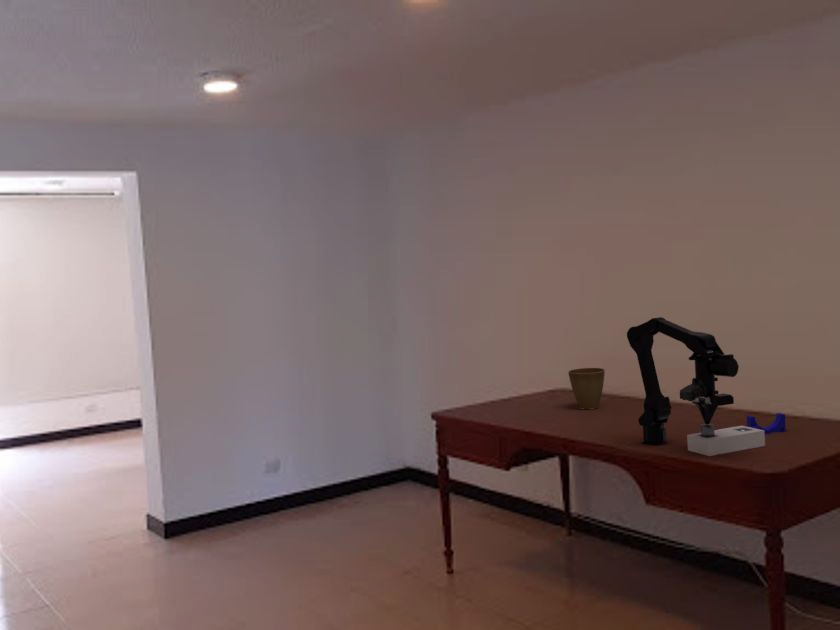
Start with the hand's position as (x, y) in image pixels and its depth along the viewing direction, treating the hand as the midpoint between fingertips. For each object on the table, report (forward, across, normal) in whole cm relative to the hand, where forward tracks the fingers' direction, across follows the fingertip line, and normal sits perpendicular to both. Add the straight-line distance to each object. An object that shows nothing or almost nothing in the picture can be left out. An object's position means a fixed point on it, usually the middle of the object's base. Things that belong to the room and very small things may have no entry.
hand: (707, 424), depth 270 cm
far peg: (+9, 0, +14) cm, 16 cm away
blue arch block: (+9, -9, +33) cm, 35 cm away
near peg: (+5, 0, 0) cm, 5 cm away
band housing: (+9, 0, +7) cm, 11 cm away
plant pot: (+9, -89, +13) cm, 90 cm away
